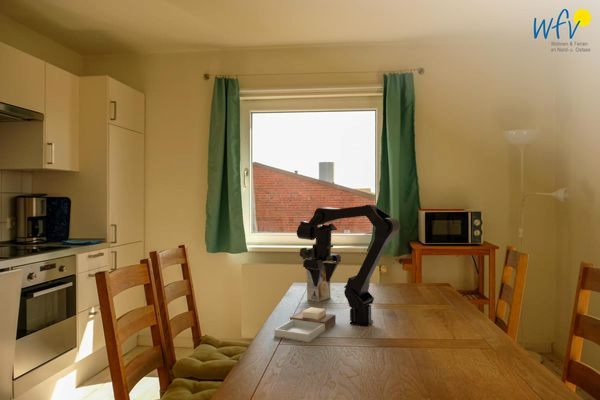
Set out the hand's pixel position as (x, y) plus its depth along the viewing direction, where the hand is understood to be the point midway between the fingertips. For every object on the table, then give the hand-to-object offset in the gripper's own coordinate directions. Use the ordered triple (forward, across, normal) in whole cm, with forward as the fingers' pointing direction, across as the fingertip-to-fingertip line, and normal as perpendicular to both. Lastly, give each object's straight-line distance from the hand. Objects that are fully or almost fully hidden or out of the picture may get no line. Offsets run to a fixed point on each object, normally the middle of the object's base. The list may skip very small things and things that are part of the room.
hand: (321, 283), depth 155 cm
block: (+9, +10, +3) cm, 14 cm away
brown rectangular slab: (+12, +11, +3) cm, 16 cm away
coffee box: (+13, -22, -13) cm, 29 cm away
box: (+12, +21, +4) cm, 24 cm away
